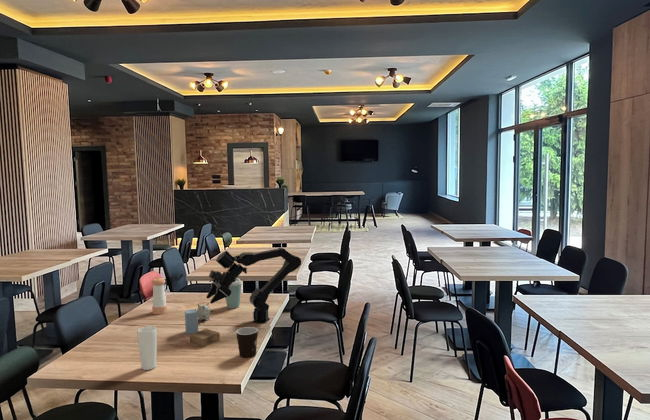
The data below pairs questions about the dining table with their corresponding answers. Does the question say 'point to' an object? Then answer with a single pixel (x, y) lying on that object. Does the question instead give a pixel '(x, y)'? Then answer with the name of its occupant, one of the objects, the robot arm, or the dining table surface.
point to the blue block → (191, 321)
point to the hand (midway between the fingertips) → (208, 300)
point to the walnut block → (204, 337)
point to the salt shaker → (159, 296)
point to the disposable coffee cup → (234, 294)
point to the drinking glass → (147, 346)
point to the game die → (203, 312)
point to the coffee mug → (247, 341)
